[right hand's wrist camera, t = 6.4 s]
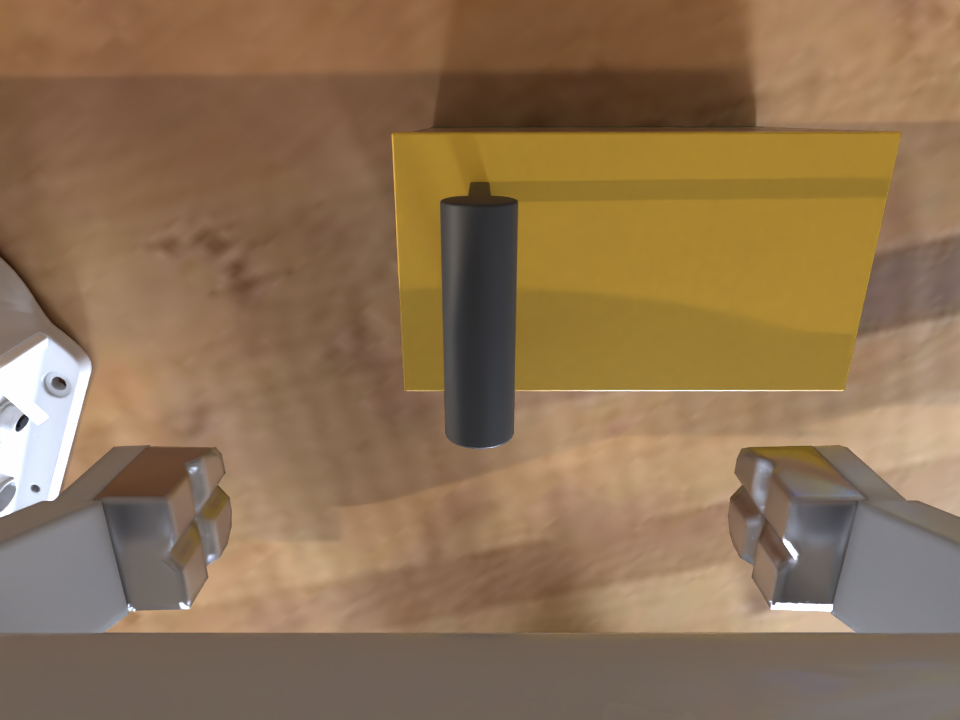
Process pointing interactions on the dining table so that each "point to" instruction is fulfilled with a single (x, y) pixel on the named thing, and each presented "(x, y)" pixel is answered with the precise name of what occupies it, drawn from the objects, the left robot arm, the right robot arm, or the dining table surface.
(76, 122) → the dining table surface
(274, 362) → the dining table surface
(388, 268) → the dining table surface
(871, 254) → the lid
